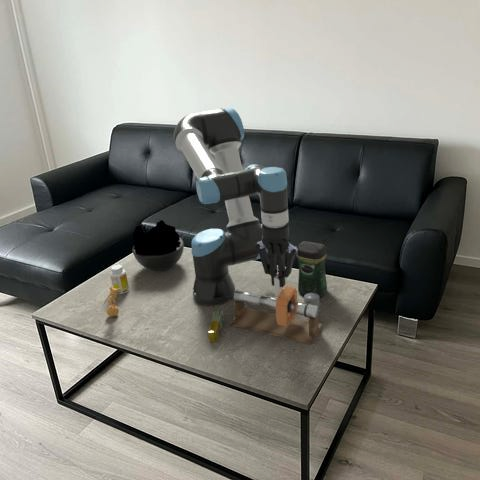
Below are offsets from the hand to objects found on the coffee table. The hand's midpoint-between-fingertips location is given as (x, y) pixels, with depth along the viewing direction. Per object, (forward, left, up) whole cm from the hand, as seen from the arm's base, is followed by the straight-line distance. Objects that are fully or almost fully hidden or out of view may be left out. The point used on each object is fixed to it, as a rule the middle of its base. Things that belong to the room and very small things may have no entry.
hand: (279, 294), depth 144 cm
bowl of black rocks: (-60, +20, -12) cm, 64 cm away
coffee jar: (+2, +23, -12) cm, 26 cm away
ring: (+2, 0, -8) cm, 9 cm away
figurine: (-55, -14, -12) cm, 58 cm away
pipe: (-2, 0, -6) cm, 6 cm away
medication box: (-18, -8, -13) cm, 24 cm away
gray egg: (+6, +11, -12) cm, 18 cm away
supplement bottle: (-64, 0, -12) cm, 65 cm away
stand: (-2, 0, -12) cm, 12 cm away
